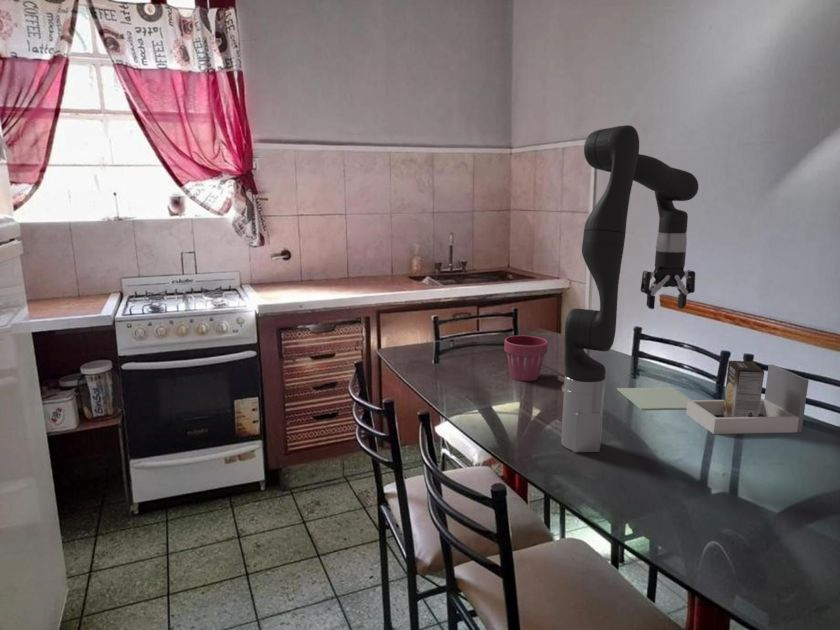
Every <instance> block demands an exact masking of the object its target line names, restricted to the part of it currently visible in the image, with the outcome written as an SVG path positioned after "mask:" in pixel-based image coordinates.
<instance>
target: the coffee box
mask: <svg viewBox="0 0 840 630" xmlns="http://www.w3.org/2000/svg"><path fill="white" fill-rule="evenodd" d="M764 376H765V370H764V369H762V367H760V366H759V365H758V364H757V363H755V361H746V360H745V361H744V360H728V363H727V374H726V381H725V391H724V399H723V400H724V408H723V415H722V417H760V414H759V409H760V401H761V399H762V393H763V385H764Z"/></svg>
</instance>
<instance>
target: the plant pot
mask: <svg viewBox="0 0 840 630" xmlns="http://www.w3.org/2000/svg"><path fill="white" fill-rule="evenodd" d="M503 342H504V345H503V347H504V348H503V349H504V352H505V353H506V356H507V363H508V368H509V374H510V377H511V378H512V379H513V380H516V381H521V382H531V381H532V382H533V381H536V380H538V379H539V375H540V373H541V369H542V366H543V365H542V364H543V362H544V357H545V355H546V354H547V353H548V347H549V346H548V343H549V342H548V340H547V339H545V338H543V337H539V336H535V335H527V334H526V335H524V334H523V335H522V334H521V335H520V334H519V335H518V334H517V335H512V336H511V335H510V336H507V337H506V338H505V339H504V341H503Z"/></svg>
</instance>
